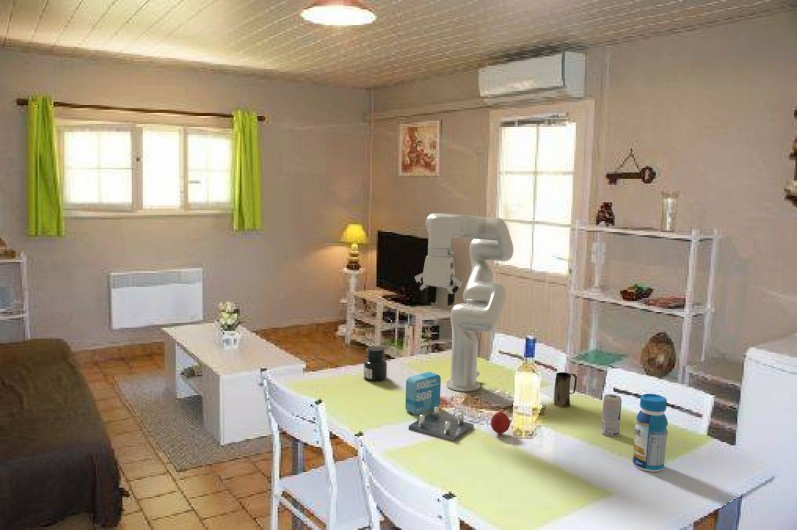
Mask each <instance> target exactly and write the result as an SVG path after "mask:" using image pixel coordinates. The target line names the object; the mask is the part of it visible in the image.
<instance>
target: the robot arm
mask: <svg viewBox="0 0 797 530" xmlns="http://www.w3.org/2000/svg"><path fill="white" fill-rule="evenodd" d="M425 229H426V231H427V233H428V239H427V240H428V243H427V244H428V245H427V255H426V256H425V259H424V260H425V261H424V264H423V265H424V266H423V270H422V271H423V272H421V273H419V274H417V275H415V276H414V279H415V280H414V281H416V285H417V286H418V287H419V290H420V292H421V293H420V299H421V303H426V302H427V301H428V300H429V289H428V287H436V288H445V289H446V291H448V293H447V306H452V308H451V311H450V324H451V334H452V336H451V339H452V342H451V360H450V361H451V363H450V364H451V365H450V367H451V369H450V379H449V380H447V381H446V387H447V388H449V389H450V390H453V391H457V392H475V391H477V390H479V389H480V388H481V383H480V382H479V381H477V377H479V376H480V371H478V351H479V350H478V349H479V348H478V346H479V342H478V338H477V335H476V333H475V332H480V333H488V334H489V333H493V332H494V331H495V329H496V327H497V325H498V324H499V320H500V317H501V315H502V312H503V309H504V306H505V303H506V297H507V294H506V293H507V291H506V288H505V287H504V285H503V284H501V283H498V282H492V281H493V278H494V272H493V270H492V268H491V267H490V265H489V263H488V262H487V261H494V262H495V261H496V262H508V261H510V260H511V259H512V258H513V255H514V243H513V240H512V237H511V235H510V230H509V229H508V226H507V224H506V222H505V220H504V219H502V218H501V217H492V216H491V217H490V216H489V217H488V216H477V215H472V214H471V215H470V214H456V213H455V214H454V213H443V212H442V213H440V212H439V213H438V212H435V213H434V212H433V213H431V214H429V215H428V216H427V218H426V221H425ZM452 238H458V239H468V240H469V239H471V241H470V244H469V257H470V263H471V272H470V275H469V277H468V280H467V282H466V284H465V285H466V286H465V287H464V289H463V294H462V298H463V301H464V302H465V303H463V302H461V303H457V304H455V305H454V303H455V297H456V296H455V293H457V292H458V291H459V290H460V288H461V287H462V285H463V280H461V279H460V278H459V277H457V276H456V275H455V274H456V273H455V271H456V270H455V263H454V257H452V255H455V250H452ZM455 283H456V285H455ZM454 285H455V286H454Z"/></svg>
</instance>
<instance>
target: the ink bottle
mask: <svg viewBox="0 0 797 530" xmlns="http://www.w3.org/2000/svg"><path fill="white" fill-rule="evenodd" d="M385 349H386V348H385V347H383V346H378V345H376V346H375V345H374V346H368V347H366V359H365V361H364V362H363V379H364V380H365V381H369V382H383V381H385V380H386V379H387V375H388V374H387V373H388V371H387V370H388V369H387V368H388V363H387V361H386V360H385V353H386V351H385Z"/></svg>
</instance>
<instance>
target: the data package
mask: <svg viewBox="0 0 797 530" xmlns="http://www.w3.org/2000/svg"><path fill="white" fill-rule="evenodd" d="M441 380H442V379H441V375H440V374H437V373H434V372H431V371H428V372H427V371H426V372H424V373H418V374H415V375H410V376H408V377H407V379H406V381H405V404H404V405H405V406H404V407H405V411H407V412H409V413H410V414H413V415H421V414H424V413H428V412H430V411H434V406H438V407H439V408H440V405H441V384H442V383H441Z"/></svg>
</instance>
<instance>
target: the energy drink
mask: <svg viewBox="0 0 797 530" xmlns="http://www.w3.org/2000/svg"><path fill="white" fill-rule="evenodd" d="M622 401H623V400H622V396H619V395H616V394H612V393H610V394H605V395H604V397H603V401H602V416H601V428H600V431H601V434H602V435H603V436H606V437H610V438H616V437H618V436H619V435H620V428H621V426H620V425H621V415H622V413H621V412H622Z"/></svg>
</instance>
